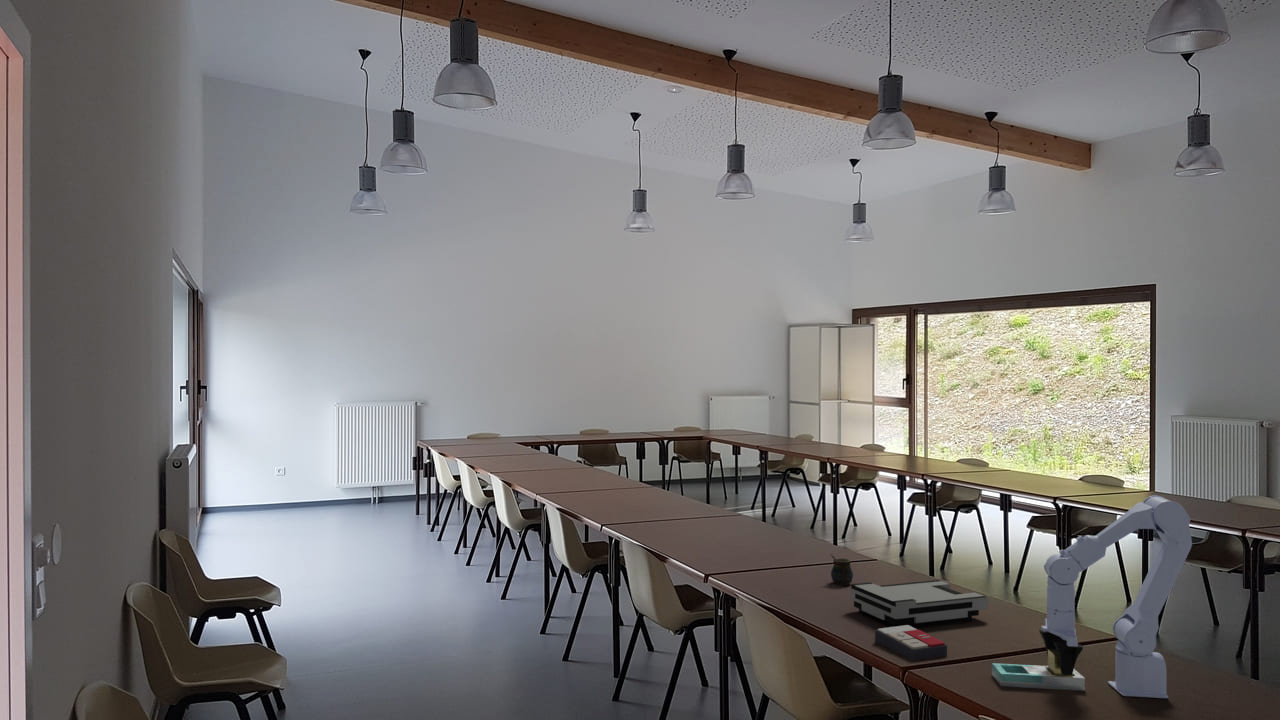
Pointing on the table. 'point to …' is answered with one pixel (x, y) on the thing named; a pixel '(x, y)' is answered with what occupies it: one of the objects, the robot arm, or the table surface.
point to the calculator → (910, 642)
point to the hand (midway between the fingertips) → (1060, 668)
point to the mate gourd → (841, 571)
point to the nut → (1054, 663)
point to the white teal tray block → (1035, 677)
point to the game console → (917, 603)
